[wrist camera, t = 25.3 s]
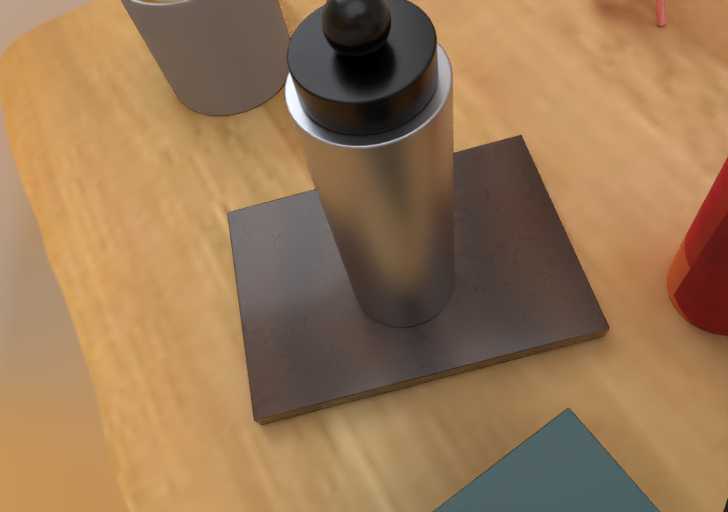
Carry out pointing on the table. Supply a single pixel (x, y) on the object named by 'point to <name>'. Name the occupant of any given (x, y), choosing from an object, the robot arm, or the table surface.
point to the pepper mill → (379, 149)
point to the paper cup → (704, 263)
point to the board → (420, 342)
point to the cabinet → (553, 477)
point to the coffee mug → (216, 50)
